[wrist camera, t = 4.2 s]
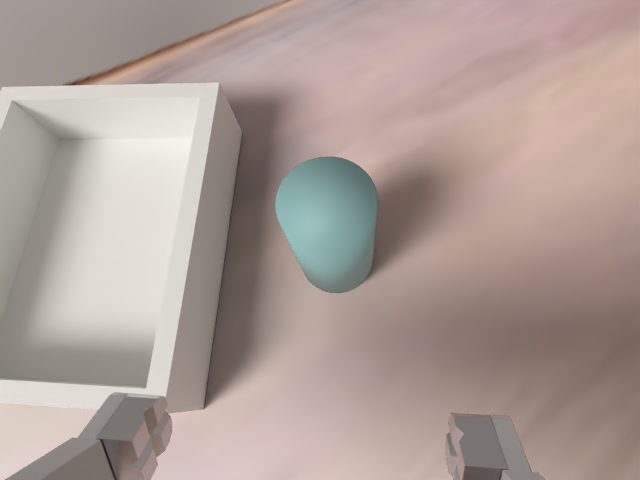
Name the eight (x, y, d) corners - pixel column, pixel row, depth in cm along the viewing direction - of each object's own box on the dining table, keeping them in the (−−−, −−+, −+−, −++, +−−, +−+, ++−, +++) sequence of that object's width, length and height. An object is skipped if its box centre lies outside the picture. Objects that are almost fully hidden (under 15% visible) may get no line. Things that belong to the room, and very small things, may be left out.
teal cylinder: (373, 224, 26) (378, 156, 18) (372, 294, 24) (377, 251, 17) (303, 223, 26) (279, 156, 19) (298, 291, 25) (270, 248, 17)
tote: (242, 132, 29) (219, 82, 24) (203, 409, 23) (162, 414, 18) (57, 133, 30) (2, 87, 26) (-25, 393, 24) (-117, 394, 20)
